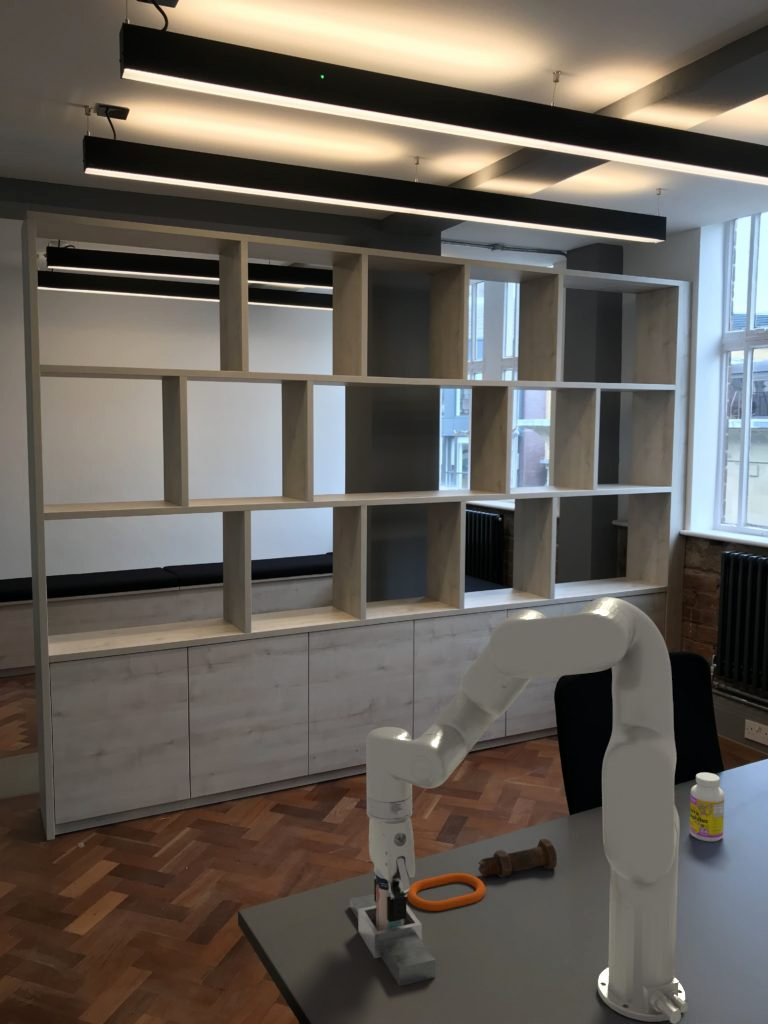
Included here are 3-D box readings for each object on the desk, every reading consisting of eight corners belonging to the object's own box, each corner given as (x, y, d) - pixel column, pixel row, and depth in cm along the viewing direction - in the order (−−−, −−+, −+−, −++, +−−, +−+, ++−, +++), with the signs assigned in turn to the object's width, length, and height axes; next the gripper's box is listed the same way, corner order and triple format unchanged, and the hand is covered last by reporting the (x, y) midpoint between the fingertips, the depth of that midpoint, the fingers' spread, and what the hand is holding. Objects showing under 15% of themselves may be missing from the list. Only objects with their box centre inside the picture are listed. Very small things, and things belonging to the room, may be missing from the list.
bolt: (479, 885, 165) (549, 870, 169) (489, 884, 160) (560, 868, 165) (472, 853, 167) (541, 839, 172) (481, 851, 163) (552, 836, 167)
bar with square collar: (441, 976, 133) (441, 951, 133) (392, 987, 131) (392, 962, 130) (387, 899, 156) (386, 878, 156) (344, 908, 153) (343, 886, 153)
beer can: (388, 924, 147) (387, 856, 146) (410, 934, 144) (410, 864, 143) (370, 937, 143) (369, 867, 142) (392, 947, 140) (391, 876, 139)
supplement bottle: (682, 832, 183) (683, 773, 182) (705, 826, 185) (707, 768, 184) (706, 845, 177) (708, 784, 176) (730, 839, 179) (731, 779, 178)
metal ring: (495, 891, 156) (420, 909, 150) (495, 900, 156) (420, 918, 151) (469, 867, 165) (398, 883, 159) (469, 875, 165) (398, 891, 160)
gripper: (431, 821, 135) (431, 932, 136) (392, 782, 151) (392, 881, 152) (386, 829, 132) (387, 942, 134) (351, 788, 148) (352, 889, 150)
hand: (390, 908), depth 143 cm, fingers open, 5 cm apart
